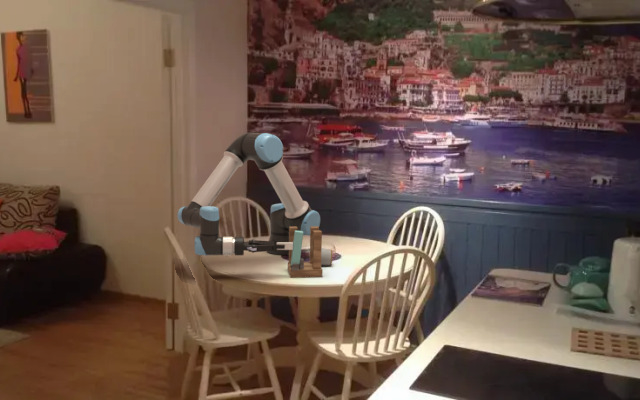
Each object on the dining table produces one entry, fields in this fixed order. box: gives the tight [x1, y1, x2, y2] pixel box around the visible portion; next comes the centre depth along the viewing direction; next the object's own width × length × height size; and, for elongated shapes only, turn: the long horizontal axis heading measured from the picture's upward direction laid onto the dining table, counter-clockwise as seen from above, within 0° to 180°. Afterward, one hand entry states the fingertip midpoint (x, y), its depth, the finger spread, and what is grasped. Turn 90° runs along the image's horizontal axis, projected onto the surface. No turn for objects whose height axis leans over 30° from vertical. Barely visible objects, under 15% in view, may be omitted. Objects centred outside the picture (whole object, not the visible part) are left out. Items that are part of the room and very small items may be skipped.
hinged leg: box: [291, 230, 304, 266], centre depth 252 cm, size 3×3×15 cm
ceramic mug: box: [321, 247, 333, 267], centre depth 272 cm, size 11×8×8 cm
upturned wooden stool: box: [287, 226, 323, 279], centre depth 256 cm, size 14×13×18 cm
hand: (292, 246), depth 251 cm, fingers closed
